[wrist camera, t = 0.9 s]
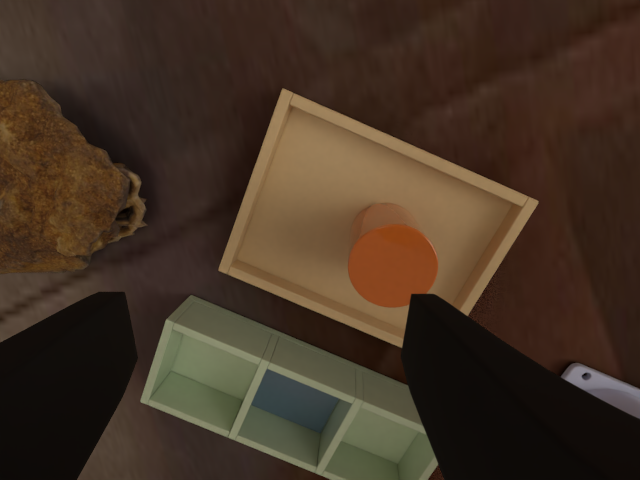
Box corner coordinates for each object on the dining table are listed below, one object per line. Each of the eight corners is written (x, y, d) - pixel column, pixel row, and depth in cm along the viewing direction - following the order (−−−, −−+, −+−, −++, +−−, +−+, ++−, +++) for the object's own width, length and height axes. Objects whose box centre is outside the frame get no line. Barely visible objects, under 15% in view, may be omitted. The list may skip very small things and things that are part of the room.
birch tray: (524, 195, 20) (540, 201, 18) (432, 347, 23) (438, 363, 22) (288, 91, 19) (282, 87, 18) (227, 260, 23) (217, 270, 21)
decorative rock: (141, 68, 20) (-80, 96, 22) (85, 47, 16) (-177, 84, 18) (176, 262, 23) (-25, 271, 25) (135, 286, 19) (-100, 294, 21)
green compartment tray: (443, 399, 24) (456, 439, 21) (399, 465, 26) (406, 510, 23) (191, 294, 24) (165, 319, 20) (166, 368, 26) (139, 402, 22)
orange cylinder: (432, 219, 20) (455, 246, 15) (399, 279, 21) (412, 321, 17) (367, 191, 20) (370, 209, 15) (338, 252, 21) (333, 287, 17)
